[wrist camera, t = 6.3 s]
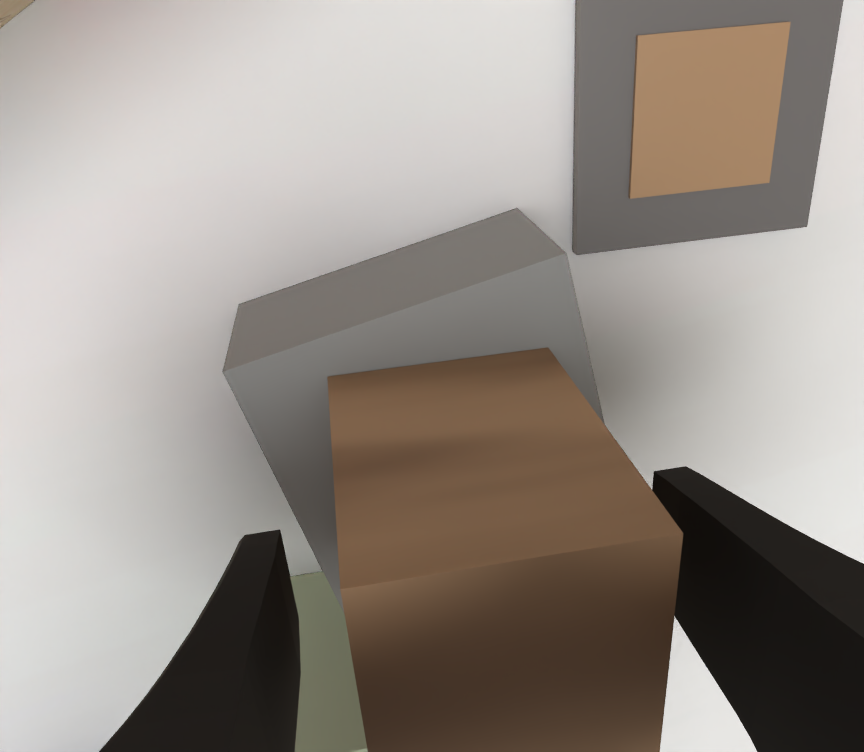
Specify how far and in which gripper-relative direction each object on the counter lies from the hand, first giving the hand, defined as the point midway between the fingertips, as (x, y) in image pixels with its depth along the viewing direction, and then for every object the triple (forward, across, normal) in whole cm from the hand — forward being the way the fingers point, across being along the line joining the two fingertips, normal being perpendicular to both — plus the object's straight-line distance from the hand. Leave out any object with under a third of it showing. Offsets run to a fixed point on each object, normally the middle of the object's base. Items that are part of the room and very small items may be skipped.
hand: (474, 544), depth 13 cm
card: (+7, -7, -6) cm, 11 cm away
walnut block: (+3, 0, 0) cm, 3 cm away
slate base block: (+7, 0, 0) cm, 7 cm away
